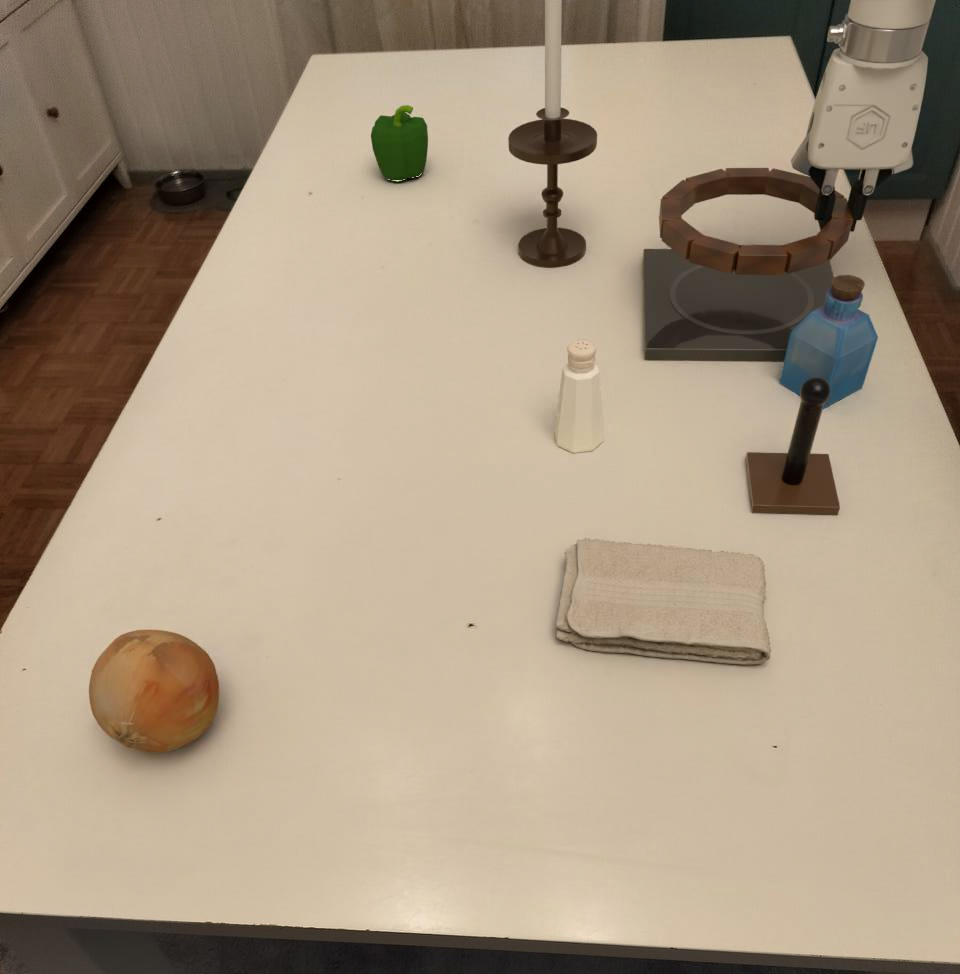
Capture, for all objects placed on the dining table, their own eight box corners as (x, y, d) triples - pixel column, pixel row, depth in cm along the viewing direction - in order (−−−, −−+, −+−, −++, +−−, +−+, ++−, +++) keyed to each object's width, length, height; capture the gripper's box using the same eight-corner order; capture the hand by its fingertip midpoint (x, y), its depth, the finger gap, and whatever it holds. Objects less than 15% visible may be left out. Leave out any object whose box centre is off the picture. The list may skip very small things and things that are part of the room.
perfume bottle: (862, 388, 99) (894, 285, 90) (822, 409, 97) (851, 306, 88) (818, 362, 103) (845, 260, 94) (779, 383, 101) (802, 280, 92)
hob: (823, 259, 117) (826, 247, 116) (851, 362, 103) (854, 349, 101) (642, 259, 120) (643, 247, 118) (644, 360, 105) (645, 347, 104)
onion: (101, 779, 73) (48, 706, 65) (131, 680, 79) (86, 602, 71) (221, 775, 72) (182, 701, 64) (242, 675, 79) (208, 597, 71)
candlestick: (495, 251, 123) (480, -69, 96) (553, 222, 127) (555, -91, 100) (550, 280, 118) (552, -51, 91) (609, 249, 122) (627, -76, 95)
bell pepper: (365, 179, 140) (354, 108, 132) (402, 159, 143) (393, 89, 136) (404, 193, 136) (395, 121, 128) (441, 172, 140) (435, 101, 132)
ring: (832, 186, 109) (836, 167, 107) (859, 275, 96) (865, 255, 94) (657, 186, 111) (659, 168, 110) (661, 274, 98) (663, 254, 97)
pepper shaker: (598, 457, 94) (603, 365, 86) (547, 450, 96) (547, 358, 87) (609, 425, 98) (615, 333, 89) (560, 419, 99) (561, 327, 90)
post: (826, 461, 92) (858, 354, 83) (837, 515, 87) (873, 408, 78) (745, 459, 93) (767, 353, 83) (751, 513, 88) (776, 406, 78)
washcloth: (566, 554, 86) (566, 530, 83) (762, 568, 83) (768, 543, 81) (552, 652, 78) (552, 628, 76) (768, 670, 76) (775, 647, 73)
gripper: (802, 54, 87) (765, 242, 101) (978, 51, 85) (916, 242, 99) (793, 27, 92) (759, 210, 106) (960, 23, 90) (903, 210, 104)
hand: (835, 224), depth 102 cm, fingers closed on ring, 2 cm apart
